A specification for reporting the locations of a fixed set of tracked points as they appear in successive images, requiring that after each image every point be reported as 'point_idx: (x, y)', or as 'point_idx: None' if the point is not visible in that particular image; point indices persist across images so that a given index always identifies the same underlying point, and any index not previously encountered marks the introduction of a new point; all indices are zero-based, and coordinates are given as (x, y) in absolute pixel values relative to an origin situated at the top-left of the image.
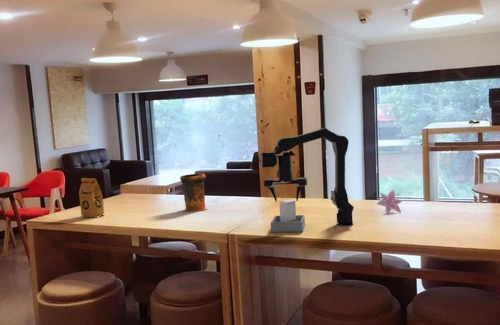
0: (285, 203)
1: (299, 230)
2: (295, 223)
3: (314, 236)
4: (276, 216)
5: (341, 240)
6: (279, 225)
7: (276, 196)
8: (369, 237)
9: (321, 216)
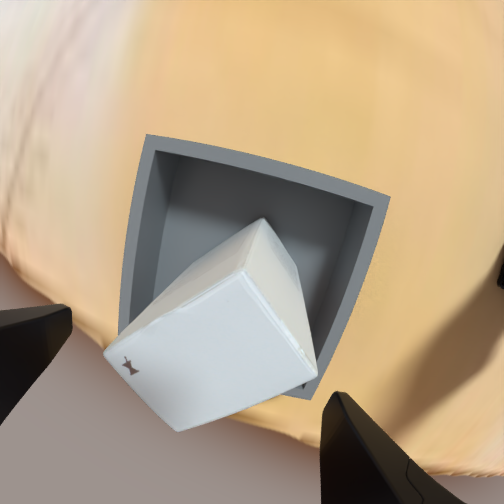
0: (176, 426)
1: None
2: None
3: None
4: (157, 151)
5: None
6: None
7: (28, 332)
8: (464, 443)
9: (468, 48)
